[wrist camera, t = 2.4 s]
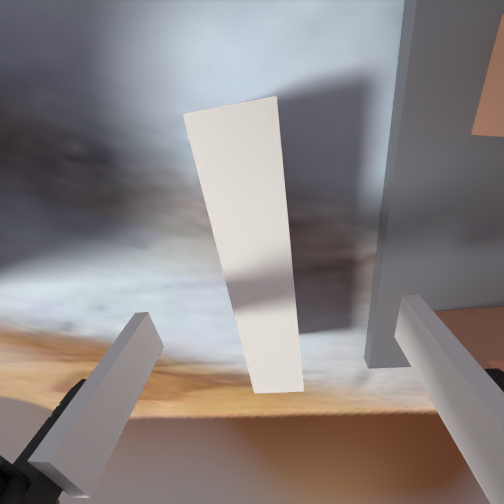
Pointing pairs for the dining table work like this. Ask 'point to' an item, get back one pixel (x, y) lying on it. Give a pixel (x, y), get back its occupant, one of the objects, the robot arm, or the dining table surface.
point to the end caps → (444, 181)
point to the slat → (251, 233)
